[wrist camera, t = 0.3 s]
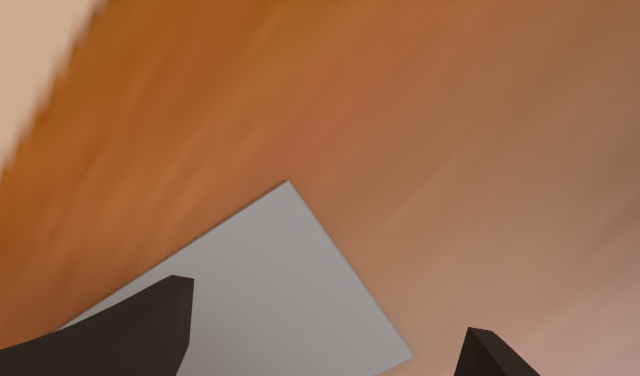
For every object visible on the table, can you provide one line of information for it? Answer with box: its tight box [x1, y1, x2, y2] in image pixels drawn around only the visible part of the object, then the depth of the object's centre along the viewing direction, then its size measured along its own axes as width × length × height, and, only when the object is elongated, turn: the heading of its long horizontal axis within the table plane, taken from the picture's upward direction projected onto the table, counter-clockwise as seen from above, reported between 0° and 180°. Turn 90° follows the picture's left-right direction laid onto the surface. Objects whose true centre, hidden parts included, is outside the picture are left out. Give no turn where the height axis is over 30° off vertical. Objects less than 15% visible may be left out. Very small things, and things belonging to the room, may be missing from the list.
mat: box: [52, 180, 413, 376], centre depth 25 cm, size 11×20×1 cm, turn 124°
